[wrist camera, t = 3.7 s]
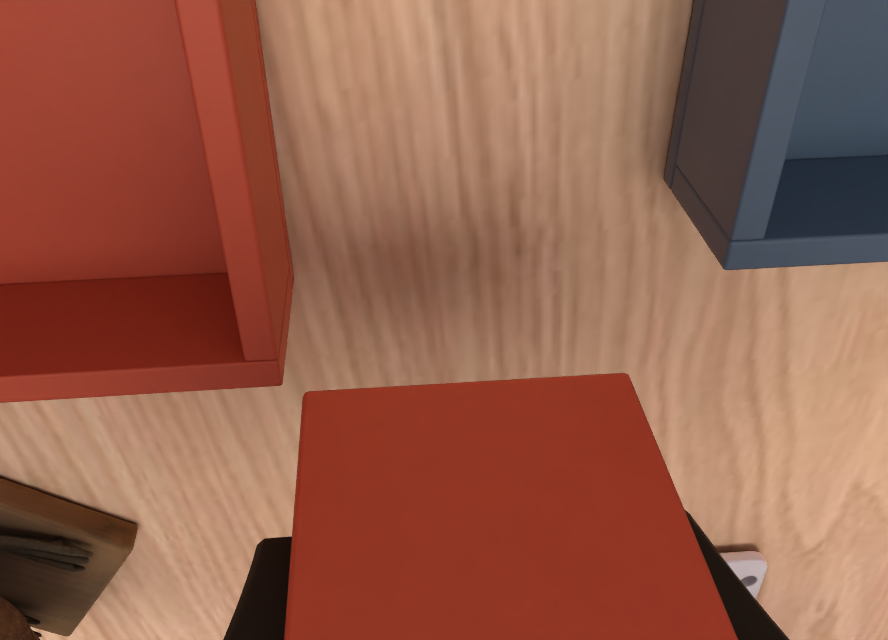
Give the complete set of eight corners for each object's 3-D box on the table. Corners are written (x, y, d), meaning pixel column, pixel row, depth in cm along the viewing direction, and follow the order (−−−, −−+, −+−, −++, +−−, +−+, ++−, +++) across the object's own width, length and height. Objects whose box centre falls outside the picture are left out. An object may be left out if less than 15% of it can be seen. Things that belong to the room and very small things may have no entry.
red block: (594, 570, 14) (676, 866, 10) (330, 590, 14) (322, 902, 10) (628, 370, 11) (756, 676, 8) (302, 389, 11) (276, 717, 7)
